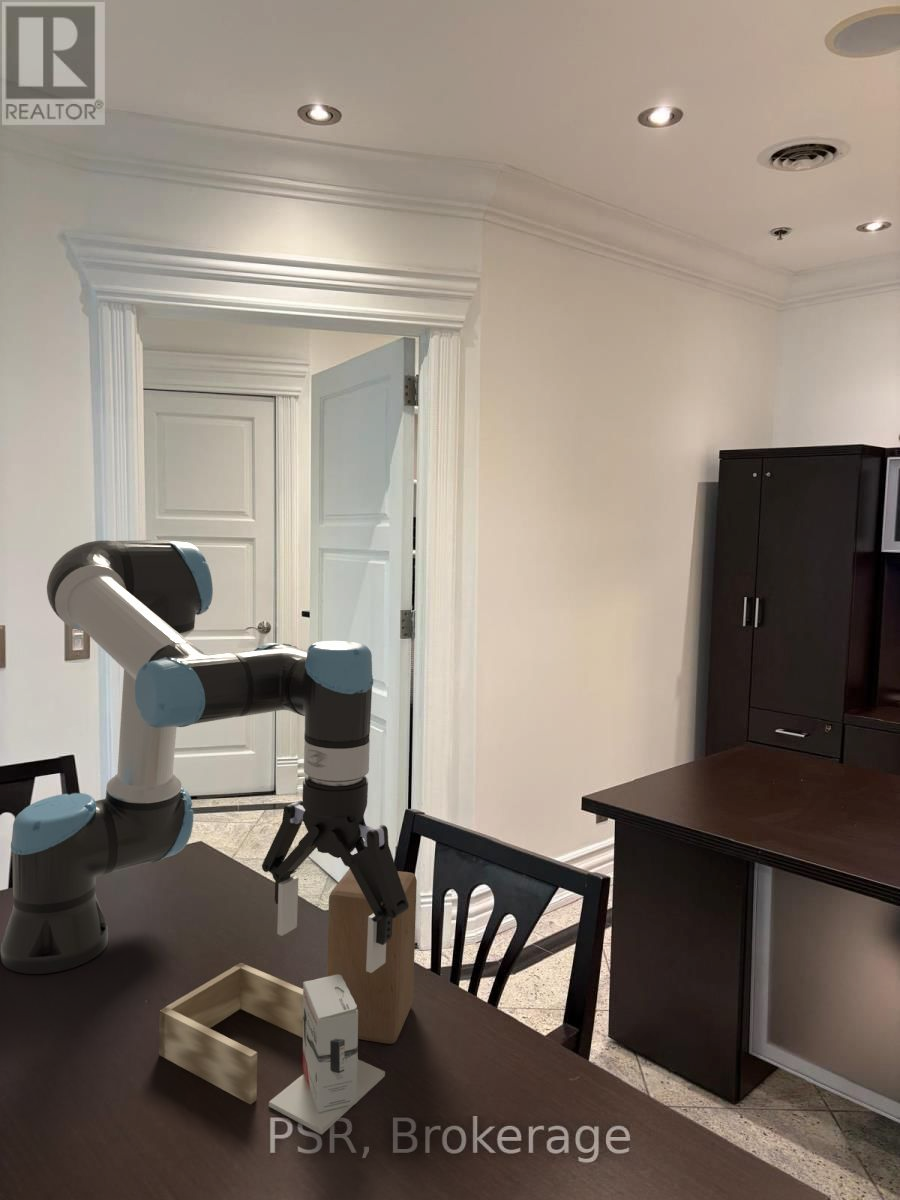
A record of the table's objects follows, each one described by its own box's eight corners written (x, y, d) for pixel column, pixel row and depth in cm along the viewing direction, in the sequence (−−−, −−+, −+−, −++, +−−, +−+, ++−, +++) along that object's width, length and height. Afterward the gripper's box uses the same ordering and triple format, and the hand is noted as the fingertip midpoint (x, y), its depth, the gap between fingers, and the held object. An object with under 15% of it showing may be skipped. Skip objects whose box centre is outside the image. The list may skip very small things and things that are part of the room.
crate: (159, 1055, 107) (159, 1010, 106) (240, 1002, 119) (240, 962, 118) (250, 1104, 98) (251, 1056, 98) (327, 1043, 110) (328, 1000, 110)
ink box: (300, 1068, 104) (302, 978, 103) (339, 1060, 106) (341, 971, 105) (316, 1114, 96) (318, 1017, 95) (358, 1104, 98) (360, 1009, 97)
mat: (269, 1106, 98) (269, 1101, 98) (334, 1052, 108) (334, 1048, 108) (321, 1134, 94) (321, 1129, 94) (384, 1076, 104) (384, 1071, 104)
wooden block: (395, 1048, 110) (400, 902, 108) (323, 1036, 112) (326, 892, 110) (414, 1005, 120) (418, 870, 118) (347, 995, 122) (350, 862, 120)
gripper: (235, 761, 101) (231, 928, 103) (405, 809, 88) (397, 999, 90) (278, 747, 107) (274, 905, 109) (443, 790, 94) (435, 968, 96)
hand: (329, 948), depth 100 cm, fingers open, 13 cm apart
